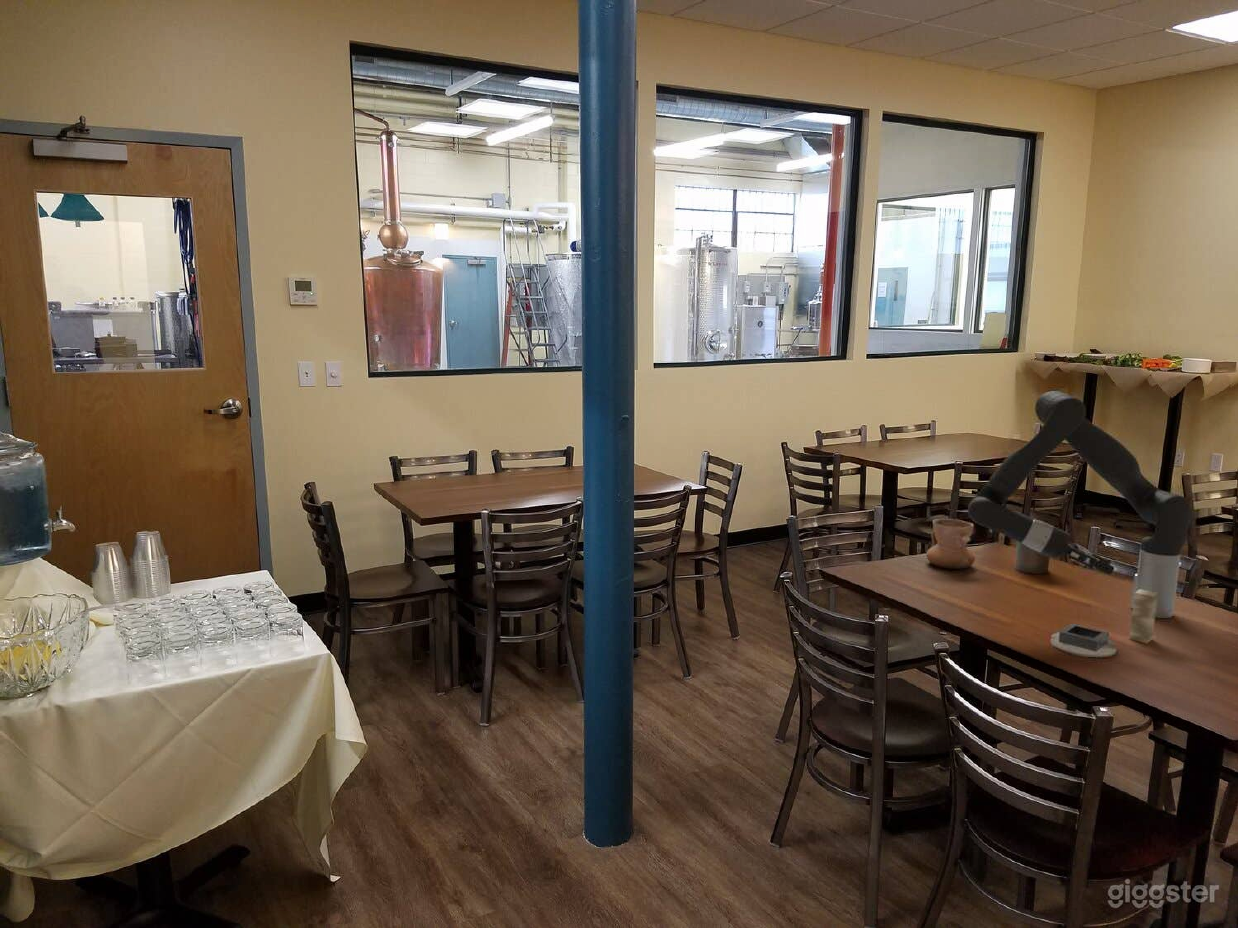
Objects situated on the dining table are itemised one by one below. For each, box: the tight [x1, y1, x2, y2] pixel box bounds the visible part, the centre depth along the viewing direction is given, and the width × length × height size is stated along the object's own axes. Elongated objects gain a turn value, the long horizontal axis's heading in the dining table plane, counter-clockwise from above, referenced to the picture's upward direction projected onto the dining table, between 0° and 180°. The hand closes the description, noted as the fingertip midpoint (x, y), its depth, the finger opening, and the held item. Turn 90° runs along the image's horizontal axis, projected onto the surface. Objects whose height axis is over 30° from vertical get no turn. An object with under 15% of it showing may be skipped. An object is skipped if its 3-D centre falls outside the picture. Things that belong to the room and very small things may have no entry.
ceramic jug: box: [925, 518, 976, 570], centre depth 275 cm, size 18×14×14 cm
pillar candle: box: [1014, 541, 1050, 575], centre depth 271 cm, size 10×10×15 cm
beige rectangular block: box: [1129, 589, 1158, 644], centre depth 214 cm, size 4×4×12 cm
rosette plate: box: [1050, 623, 1117, 659], centre depth 209 cm, size 14×14×4 cm
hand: (1109, 568), depth 217 cm, fingers open, 8 cm apart
